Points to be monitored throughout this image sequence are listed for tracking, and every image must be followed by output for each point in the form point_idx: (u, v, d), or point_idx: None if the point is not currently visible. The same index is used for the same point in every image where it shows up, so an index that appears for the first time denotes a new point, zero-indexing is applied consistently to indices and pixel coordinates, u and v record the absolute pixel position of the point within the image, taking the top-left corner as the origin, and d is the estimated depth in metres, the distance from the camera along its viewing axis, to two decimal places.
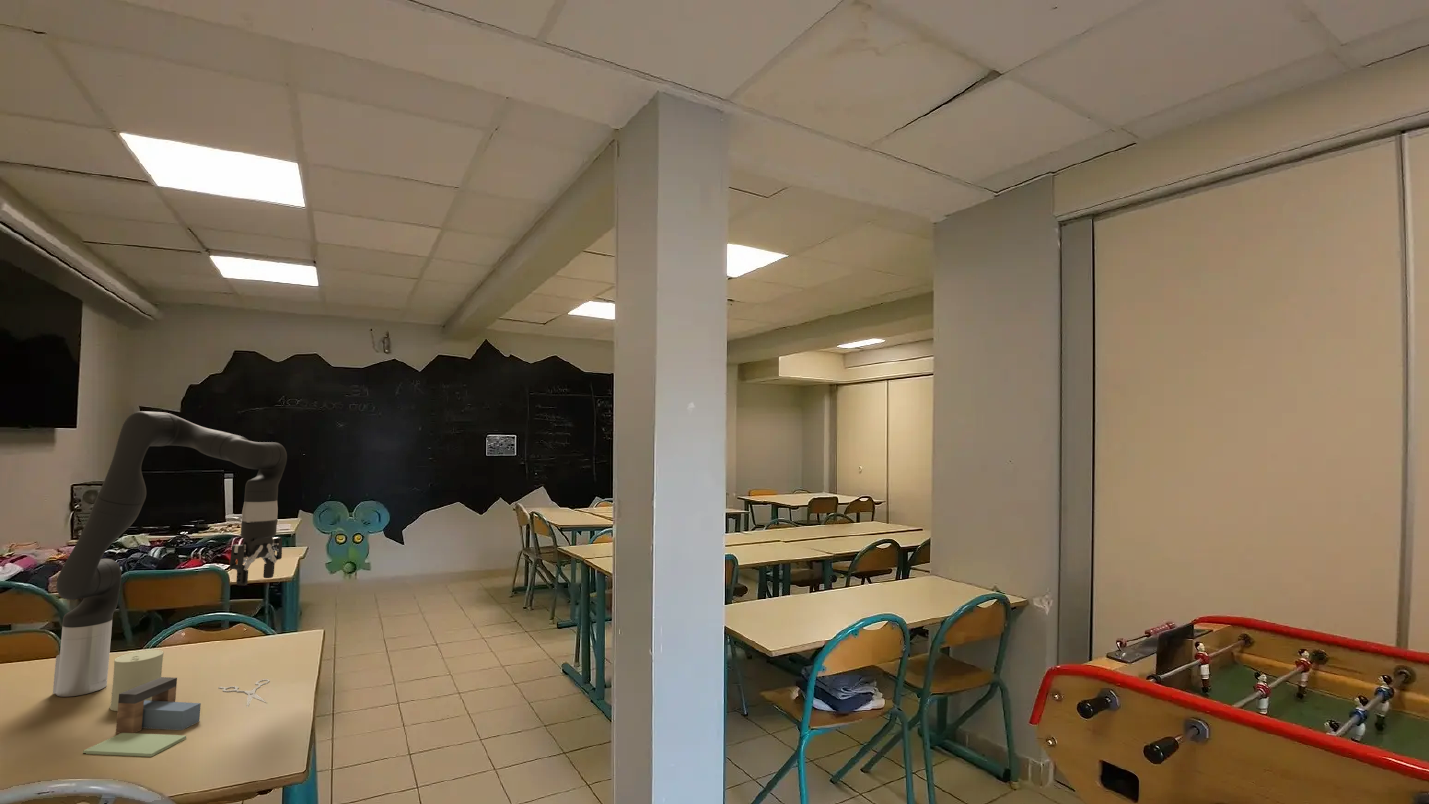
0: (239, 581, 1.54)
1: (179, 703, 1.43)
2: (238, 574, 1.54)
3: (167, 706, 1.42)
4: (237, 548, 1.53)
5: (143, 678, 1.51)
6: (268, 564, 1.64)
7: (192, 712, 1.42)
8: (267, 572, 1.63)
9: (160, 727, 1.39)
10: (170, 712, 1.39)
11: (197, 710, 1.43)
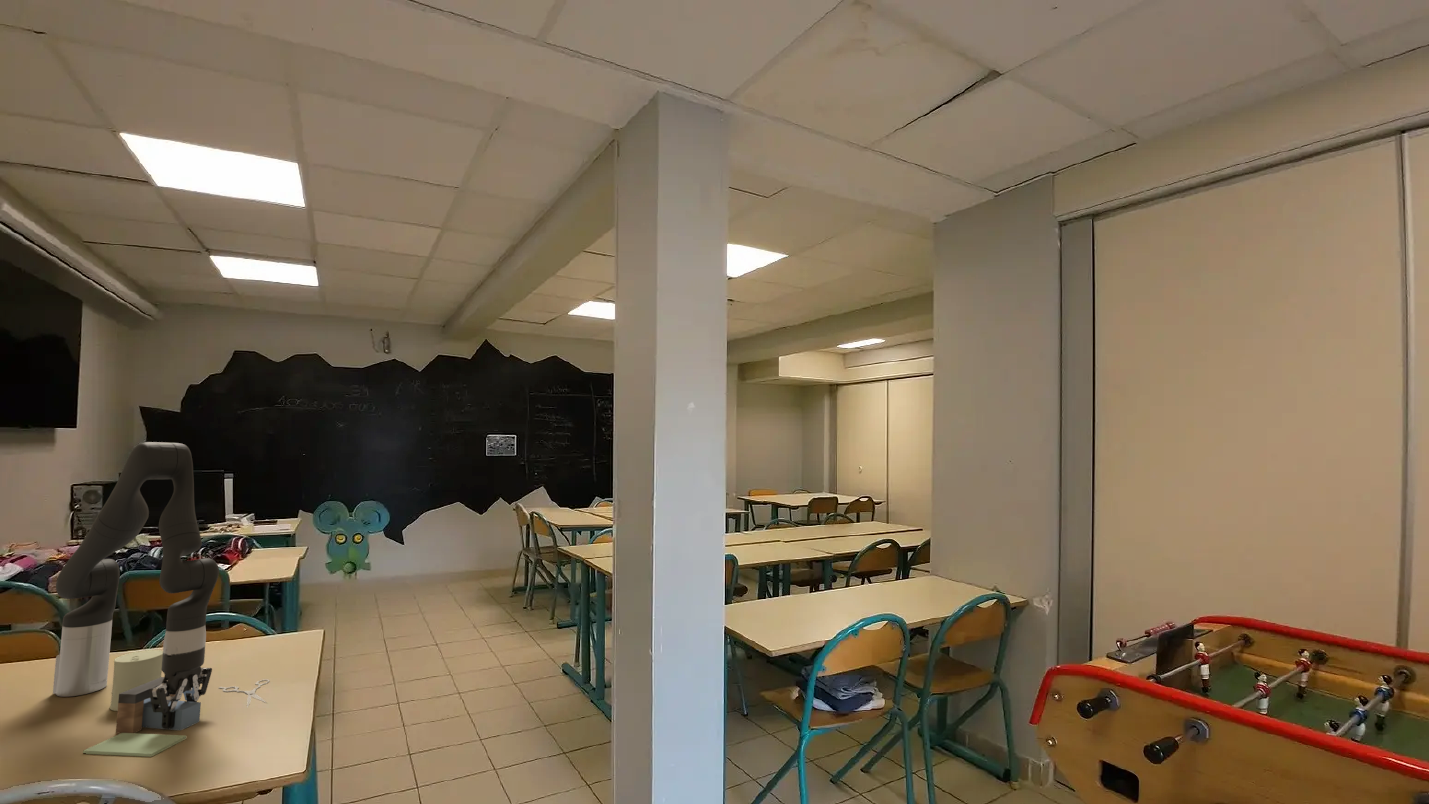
0: (165, 724, 1.38)
1: (180, 702, 1.43)
2: (164, 717, 1.38)
3: (168, 705, 1.42)
4: (155, 693, 1.35)
5: (143, 678, 1.51)
6: None
7: (192, 711, 1.41)
8: None
9: (160, 726, 1.40)
10: None
11: (197, 709, 1.43)
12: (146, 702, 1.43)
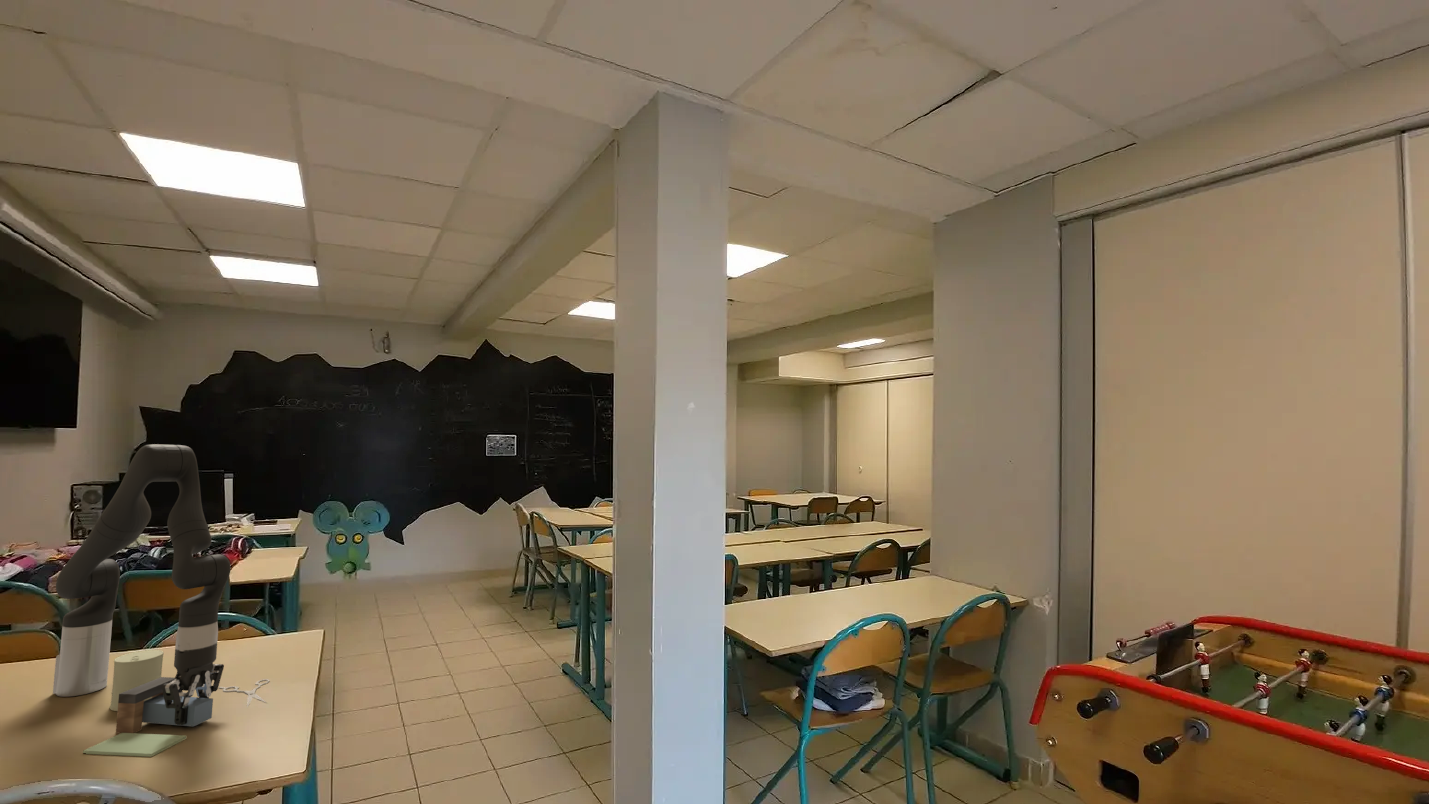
0: (177, 721, 1.38)
1: (192, 698, 1.43)
2: (176, 713, 1.38)
3: None
4: (168, 689, 1.35)
5: (143, 678, 1.51)
6: None
7: (204, 707, 1.41)
8: None
9: (173, 722, 1.39)
10: None
11: (209, 705, 1.43)
12: (158, 698, 1.43)
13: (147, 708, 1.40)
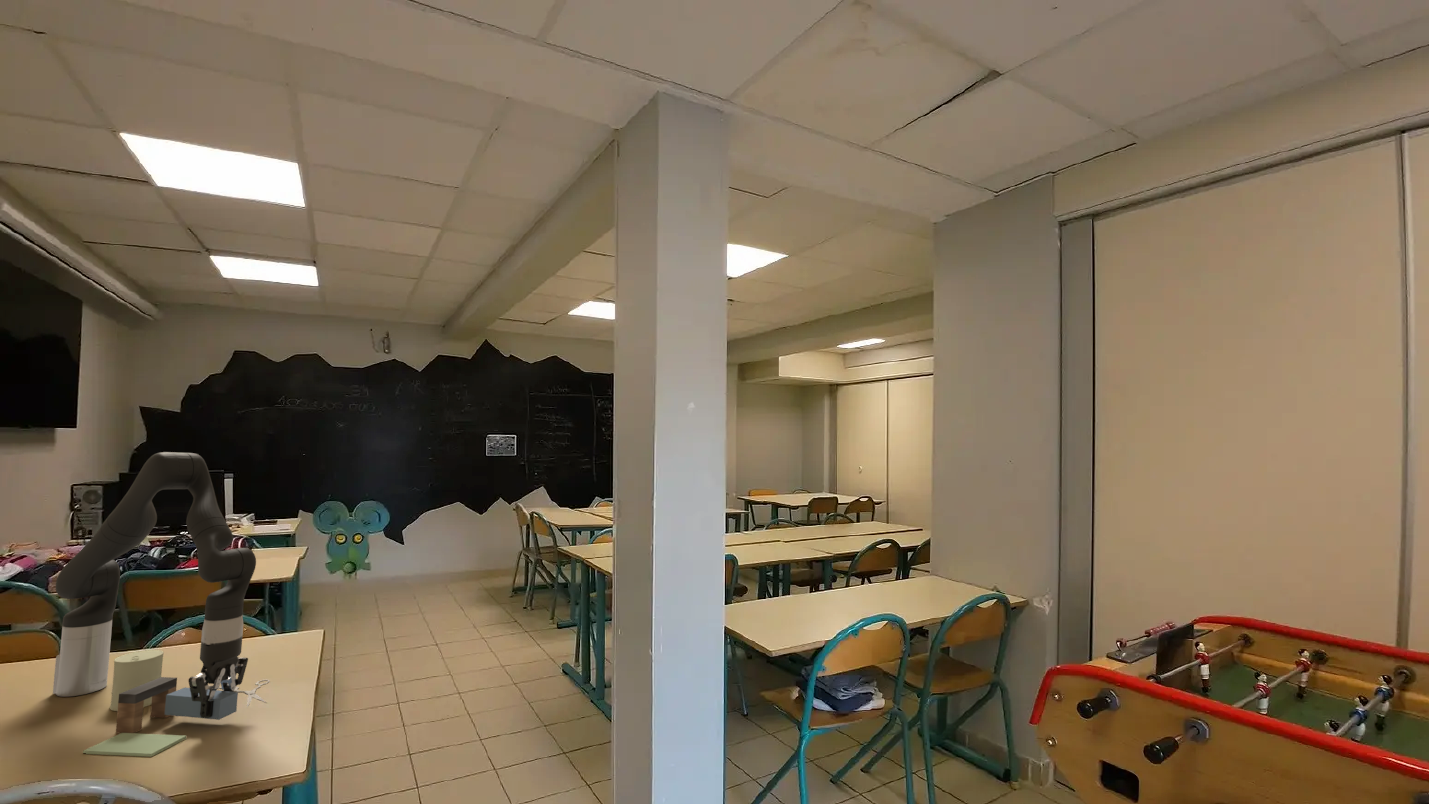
0: (203, 714, 1.38)
1: (217, 691, 1.43)
2: (202, 706, 1.38)
3: None
4: (195, 682, 1.35)
5: (143, 678, 1.51)
6: None
7: (229, 701, 1.41)
8: None
9: (198, 715, 1.39)
10: None
11: (234, 699, 1.43)
12: (183, 691, 1.43)
13: (173, 701, 1.40)
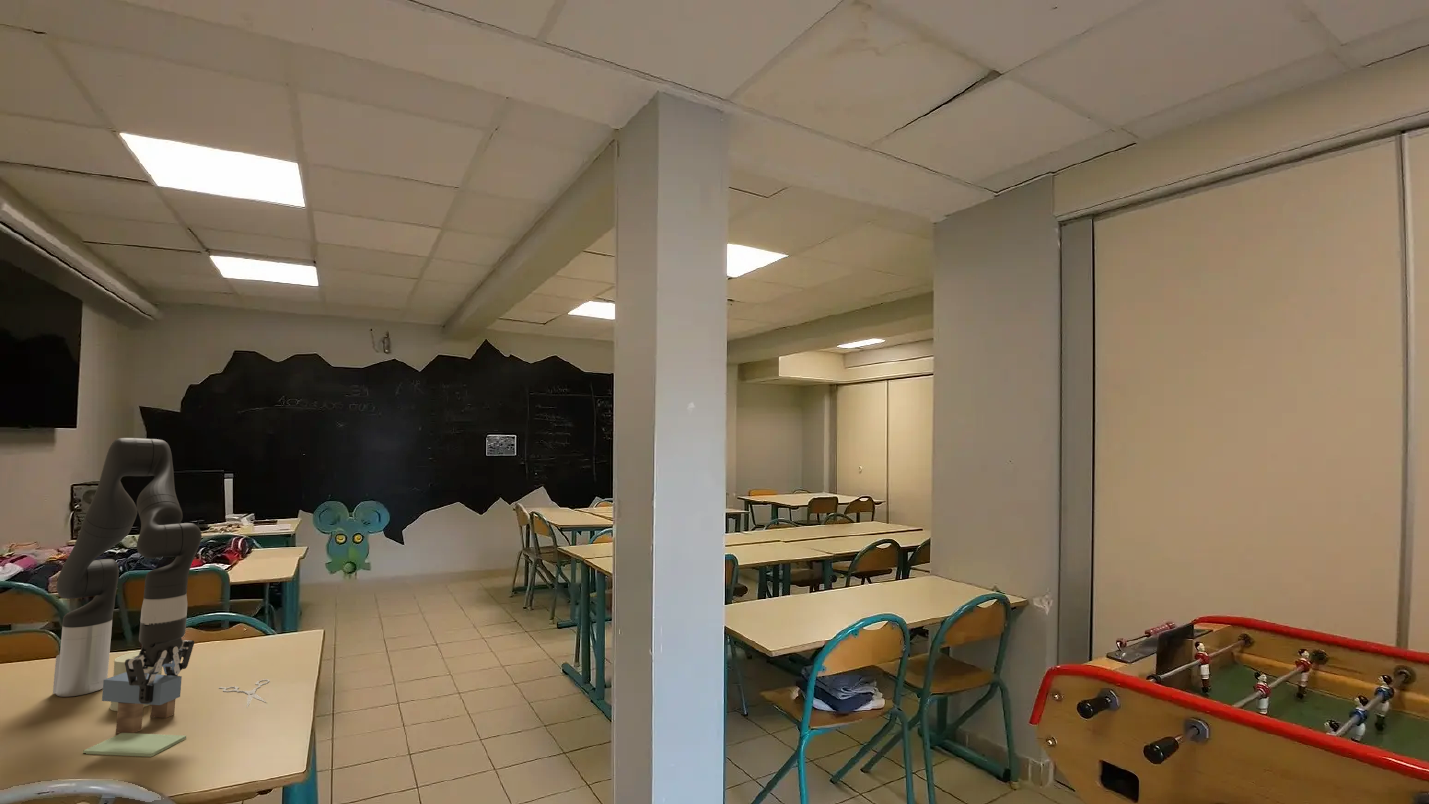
0: (142, 699, 1.29)
1: (159, 676, 1.34)
2: (141, 690, 1.29)
3: (146, 678, 1.32)
4: (131, 665, 1.26)
5: None
6: None
7: (172, 685, 1.32)
8: None
9: (138, 700, 1.30)
10: None
11: (178, 683, 1.33)
12: (123, 676, 1.33)
13: (110, 686, 1.31)
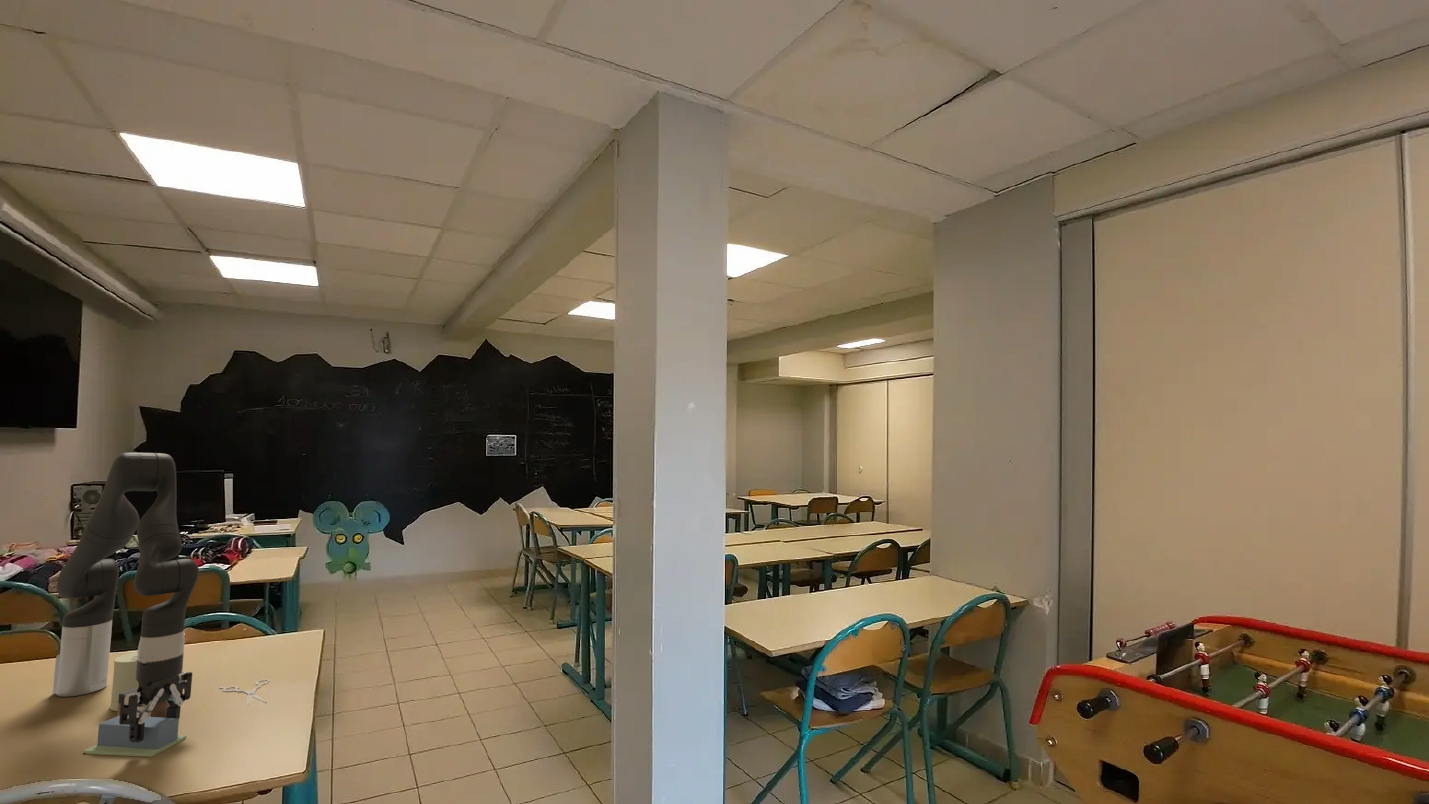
0: (132, 738, 1.27)
1: (156, 718, 1.33)
2: (131, 729, 1.27)
3: (143, 722, 1.32)
4: (127, 700, 1.25)
5: None
6: (172, 708, 1.35)
7: (169, 728, 1.32)
8: None
9: (135, 745, 1.29)
10: (145, 728, 1.30)
11: (175, 726, 1.33)
12: (118, 719, 1.33)
13: (106, 730, 1.30)
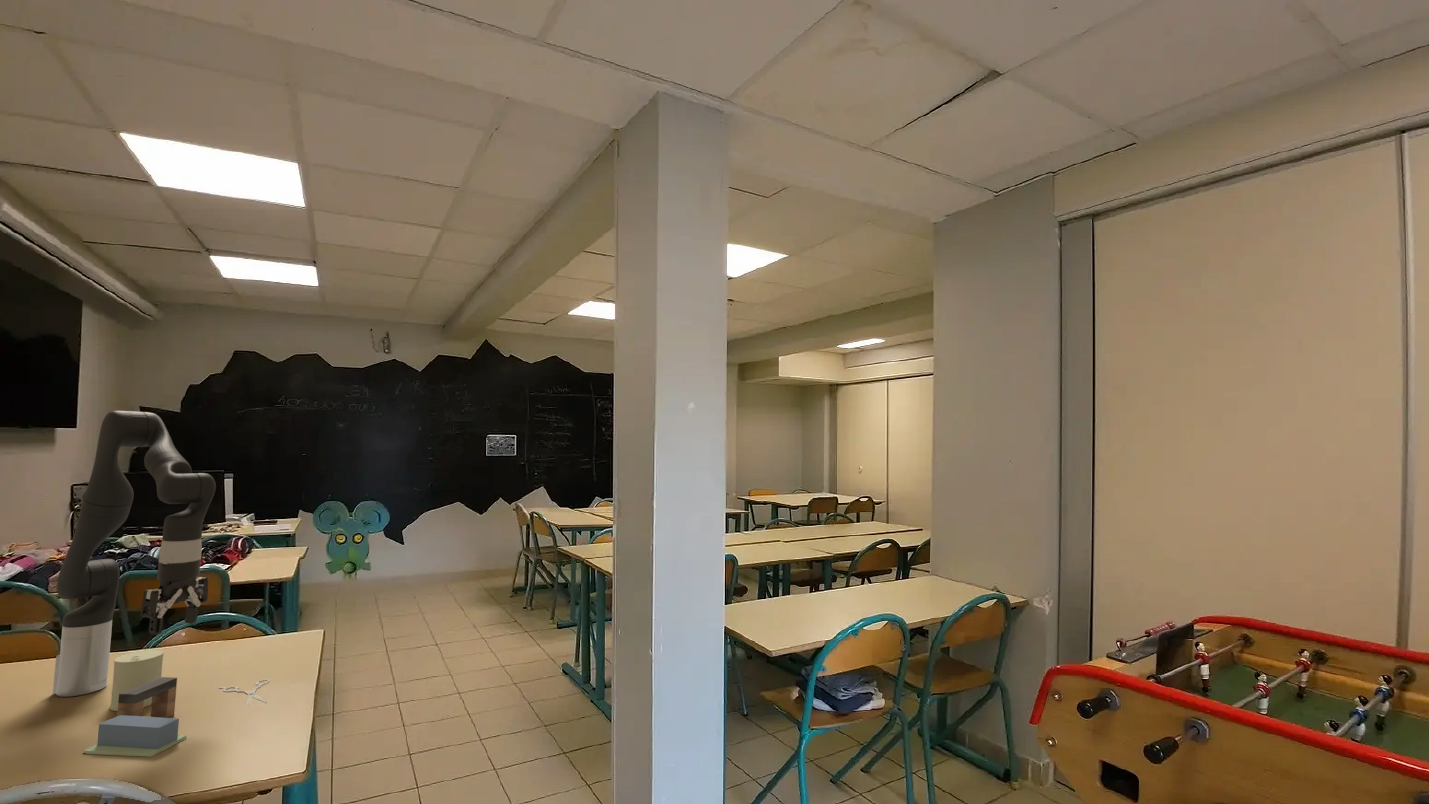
0: (152, 630, 1.38)
1: (156, 718, 1.33)
2: (151, 622, 1.38)
3: (143, 722, 1.32)
4: (149, 594, 1.37)
5: (143, 678, 1.51)
6: (190, 608, 1.48)
7: (169, 728, 1.32)
8: (189, 617, 1.47)
9: (135, 745, 1.29)
10: (145, 728, 1.30)
11: (175, 726, 1.33)
12: (118, 719, 1.33)
13: (106, 730, 1.30)
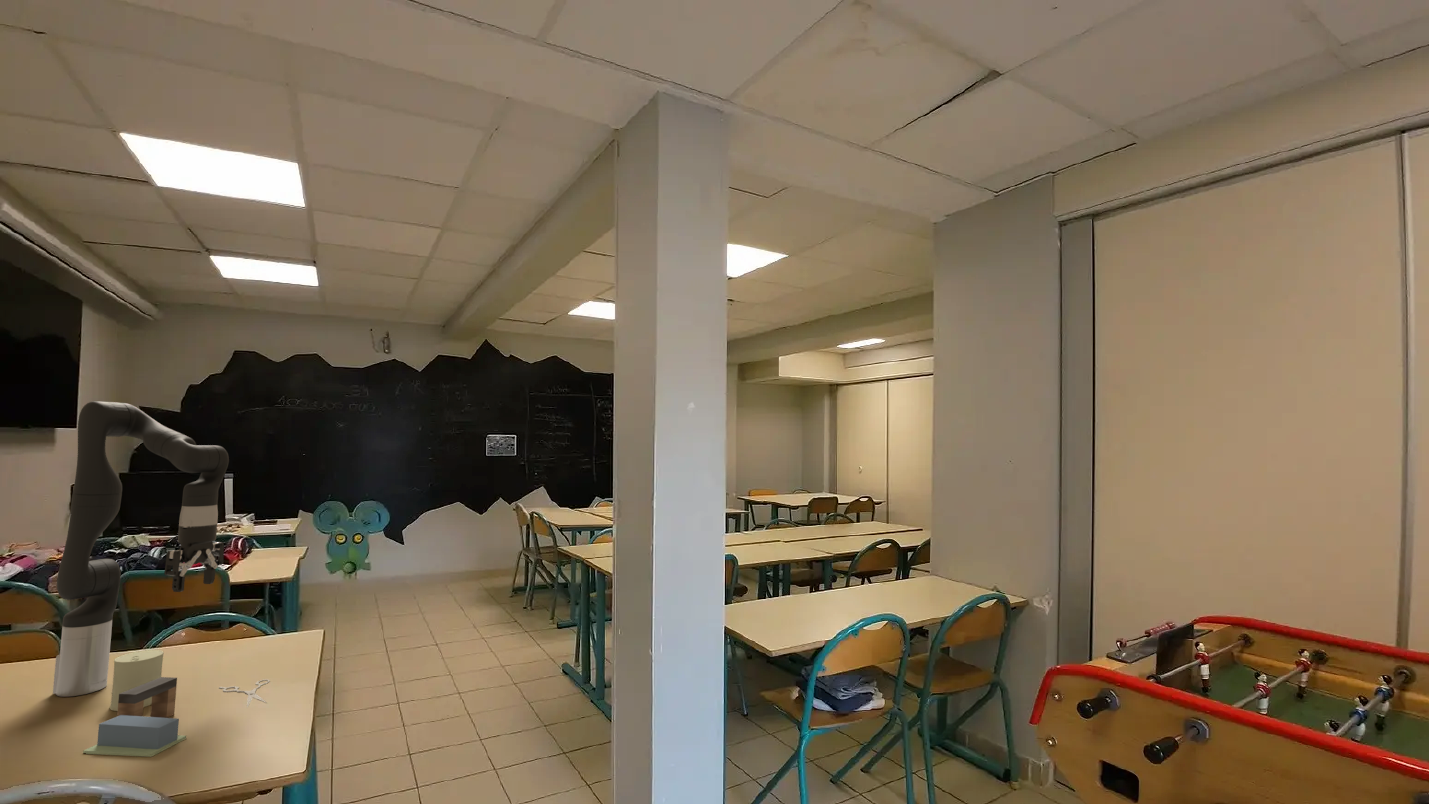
0: (175, 587, 1.51)
1: (156, 718, 1.33)
2: (174, 580, 1.51)
3: (143, 722, 1.32)
4: (172, 554, 1.50)
5: (143, 678, 1.51)
6: (208, 570, 1.60)
7: (169, 728, 1.32)
8: (207, 578, 1.60)
9: (135, 745, 1.29)
10: (145, 728, 1.30)
11: (175, 726, 1.33)
12: (118, 719, 1.33)
13: (106, 730, 1.30)
